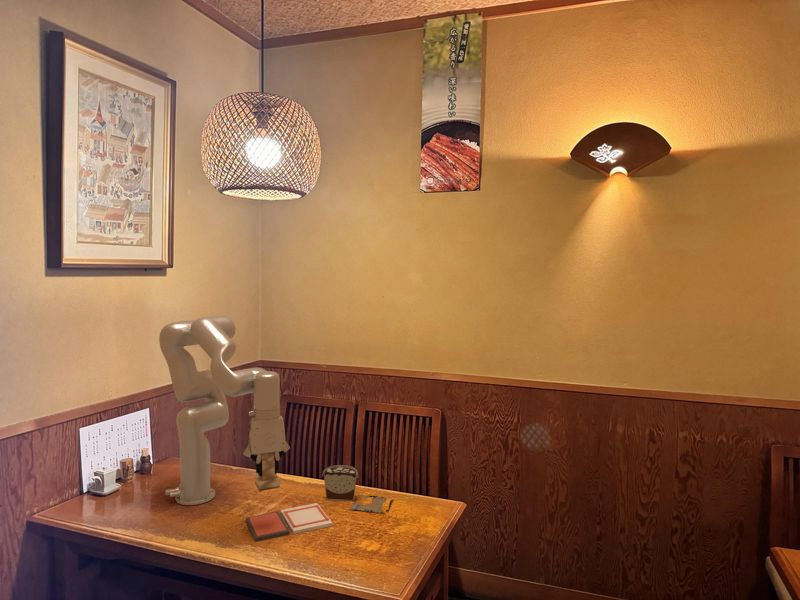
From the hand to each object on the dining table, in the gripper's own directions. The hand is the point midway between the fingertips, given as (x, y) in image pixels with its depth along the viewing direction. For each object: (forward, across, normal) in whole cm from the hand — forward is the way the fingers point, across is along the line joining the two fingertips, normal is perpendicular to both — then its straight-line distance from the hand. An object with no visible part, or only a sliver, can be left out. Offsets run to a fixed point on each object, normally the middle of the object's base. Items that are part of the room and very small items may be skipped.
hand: (267, 473), depth 161 cm
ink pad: (+17, 0, 0) cm, 17 cm away
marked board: (+17, +12, 0) cm, 21 cm away
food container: (+17, +28, +11) cm, 34 cm away
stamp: (+4, 0, 0) cm, 4 cm away
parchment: (+17, +35, +1) cm, 39 cm away
